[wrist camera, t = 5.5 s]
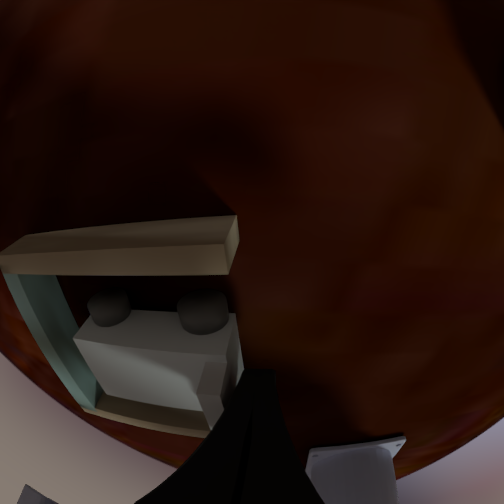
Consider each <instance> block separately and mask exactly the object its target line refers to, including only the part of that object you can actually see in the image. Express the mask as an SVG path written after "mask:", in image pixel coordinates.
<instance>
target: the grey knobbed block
mask: <svg viewBox="0 0 504 504" xmlns="http://www.w3.org/2000/svg"><path fill="white" fill-rule="evenodd" d="M87 308H88V310H89V312H90V314H91V315H90V316H89V318H88V319H87V320H86V321H85V323H84V324H83V325H82V327H81V328H80V329H79V330H78V332H77V333H76V334H75V336H74V337H73V340H74V342H75V344H76V345H77V347H78V349H79V351H80V353H81V354H82V356H83V358H84V359H85V361H86V363H87V365H88V366H89V368H90V369H91V371H92V373H93V374H94V376H95V378H96V379H97V381H98V382H99V384H100V385H101V387H102V388H103V390H104V391H105V393H106V394H107V395H111V396H116V397H120V398H124V399H129V400H134V401H139V402H144V403H149V404H155V405H160V406H167V407H173V408H180V409H188V410H196V411H203V413H204V415H205V417H206V420H207V422H208V425H209V427H210V429H212V428H213V426H214V425H215V424H216V422H217V421H218V419H219V418H220V416H221V414H222V413H223V411H224V409H225V407H226V406H227V404H228V402H229V400H230V398H231V396H232V394H233V392H234V390H235V388H236V386H237V384H238V382H239V379H240V377H241V374H242V371H243V370H244V366H243V360H242V354H241V347H240V341H239V334H238V327H237V321H236V314H235V313H229V311H228V305H227V299H226V296H225V295H224V294H223V293H222V292H220V291H217V290H213V289H201V290H196V291H193V292H190V293H188V294H186V295H185V296H183V297H182V298H181V299H180V300H179V302H178V303H177V311H178V312H165V311H145V310H132V308H131V305H130V302H129V299H128V297H127V294H126V291H125V290H123V289H121V288H109V289H105V290H102V291H100V292H98V293H96V294H95V295H94V296H92V297H91V298H90V300H89V301H88V303H87Z"/></svg>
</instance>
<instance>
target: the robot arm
mask: <svg viewBox="0 0 504 504" xmlns="http://www.w3.org/2000/svg"><path fill="white" fill-rule="evenodd" d="M405 441H406V437H405V436H400V437H395V438H390V439H385V440H379V441H373V442H366V443H359V444H351V445H342V446H331V447H317V448H312V449H310V450H309V455H308V460H307V464H306V469H304V467H303V465H302V463H301V461H300V459H299V457H298V455H297V453H296V451H295V448H294V446H293V444H292V441H291V439H290V436H289V433H288V431H287V428H286V425H285V422H284V419H283V415H282V412H281V408H280V404H279V400H278V395H277V390H276V375H275V371H274V370H273V369H245V370H243V371H242V374H241V377H240V379H239V382H238V384H237V386H236V388H235V390H234V392H233V394H232V396H231V398H230V400H229V402H228V404H227V406H226V407H225V409H224V411H223V413H222V414H221V416H220V418H219V419H218V421H217V422H216V424H215V425H214V426H213V428H212V429H211V431H210V432H209V434H208V435H207V436H206V438H205V439H204V440H203V442H202V443H201V444H200V445H199V447H198V448H197V449H196V450H195V451H194V453H193V454H192V455H191V456H190V457H189V458H188V459H187V460H186V461H185V462H184V463H183V464H182V465H181V466H180V467H179V468H178V469H177V470H176V471H175V472H174V473H173V474H172V475H171V476H170V477H168V478H167V479H166V480H165V481H164V482H163V483H161V484H160V485H159V486H158V487H156V488H155V489H154V490H152V491H151V492H150V493H148V494H147V495H145V496H144V497H142V498H141V499H139V500H138V501H136V502H135V503H134V504H399V501H398V494H397V486H396V479H395V473H394V466H393V461H392V458H393V457H394V456H395V454H396V453H397V452H398V451H399V449H400V448H401V447H402V445H403V444H404V443H405ZM17 504H58V503H56V502H55V501H53V500H51V499H49V498H47V497H45V496H44V495H42V494H41V493H39V492H37V491H36V490H35V489H33V488H31V487H30V486H28V485H27V484H26V485H25V486H24V489H23V491H22V493H21V495H20V498H19V500H18V502H17Z"/></svg>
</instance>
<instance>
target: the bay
mask: <svg viewBox="0 0 504 504" xmlns="http://www.w3.org/2000/svg"><path fill="white" fill-rule="evenodd" d="M238 243H239V233H238V224H237V215H231V216H215V217H199V218H185V219H172V220H159V221H147V222H136V223H125V224H115V225H105V226H96V227H86V228H77V229H69V230H60V231H52V232H44V233H37V234H29V235H25V236H23V237H22V238H20V239H19V240H17V241H16V242H15V243H13V244H12V245H10V246H9V247H7V248H6V249H4V250H3V251H2V252H0V268H1V271H2V273H3V276H4V278H5V280H6V283H7V285H8V287H9V290H10V292H11V294H12V296H13V298H14V300H15V303H16V305H17V307H18V309H19V311H20V313H21V315H22V317H23V319H24V320H25V322H26V324H27V326H28V328H29V330H30V332H31V333H32V335H33V337H34V339H35V340H36V342H37V344H38V345H39V347H40V349H41V350H42V352H43V354H44V355H45V357H46V358H47V360H48V361H49V363H50V365H51V366H52V368H53V369H54V371H55V372H56V374H57V375H58V376H59V378H60V379H61V381H62V382H63V384H64V385H65V386H66V388H67V389H68V390H69V392H70V393H71V394H72V396H73V397H74V398H75V400H76V401H77V402H78V403H79V405H80V406H81V407H82V408H83V410H84V411H85V412H88V413H91V414H95V415H98V416H101V417H104V418H108V419H111V420H115V421H119V422H123V423H126V424H130V425H135V426H139V427H143V428H148V429H153V430H158V431H163V432H168V433H174V434H180V435H186V436H193V437H201V438H206V436H207V435H208V434H209V432H210V431H211V429H210V427H209V425H208V422H207V420H206V417H205V415H204V413H203V411H196V410H188V409H180V408H173V407H167V406H160V405H155V404H149V403H144V402H139V401H134V400H129V399H124V398H120V397H116V396H111V395H107V394H106V393H105V391H104V390H103V388H102V387H101V385H100V384H99V382H98V381H97V379H96V378H95V376H94V374H93V373H92V371H91V369H90V368H89V366H88V365H87V363H86V361H85V359H84V358H83V356H82V354H81V353H80V351H79V349H78V347H77V345H76V344H75V342H74V340H73V337H74V336H75V334H76V333H77V332H78V330H79V327H78V325H77V323H76V321H75V319H74V317H73V315H72V313H71V310H70V308H69V306H68V304H67V302H66V299H65V297H64V295H63V292H62V290H61V287H60V285H59V283H58V280H57V277H56V275H99V276H160V275H228V274H229V270H230V267H231V264H232V261H233V258H234V255H235V252H236V249H237V246H238Z"/></svg>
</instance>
